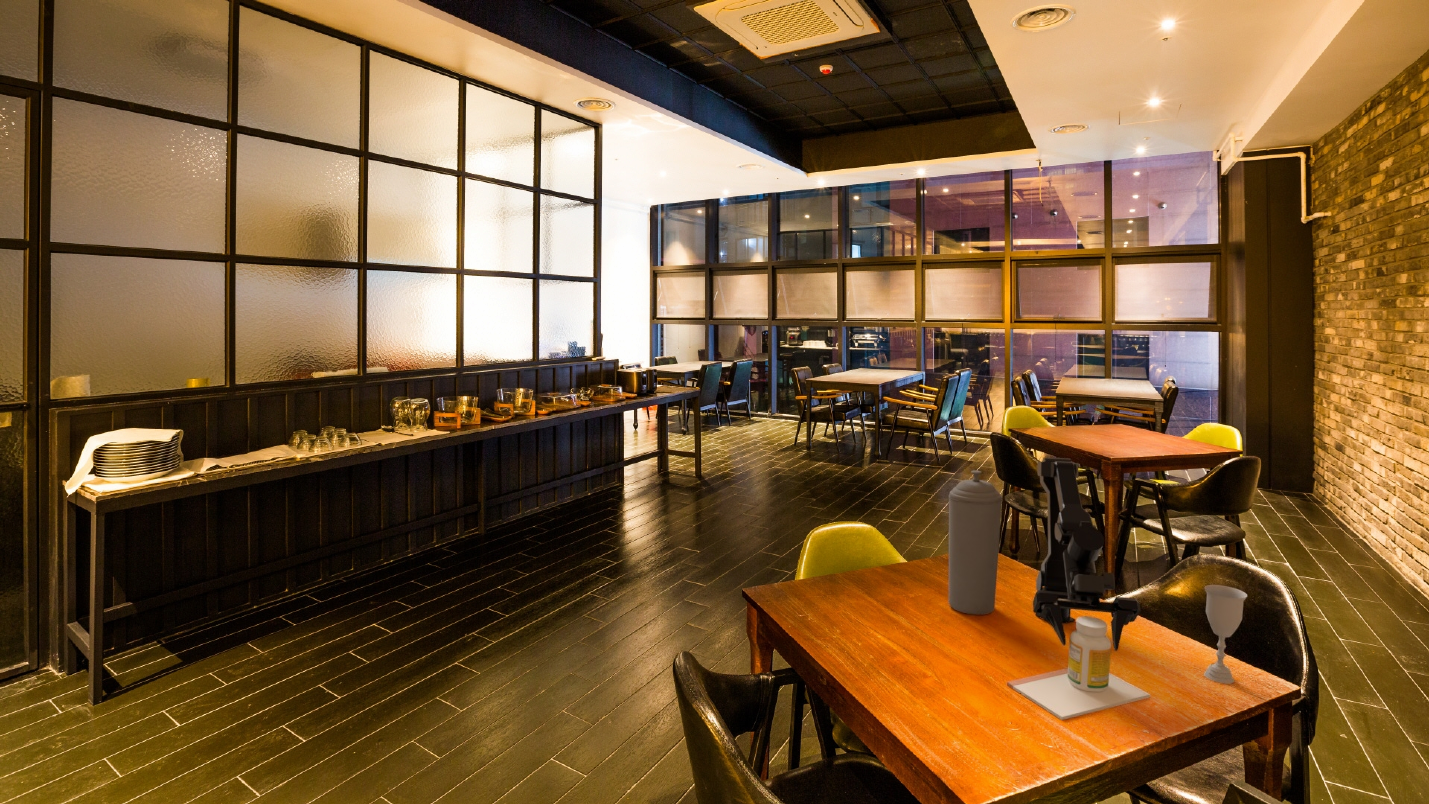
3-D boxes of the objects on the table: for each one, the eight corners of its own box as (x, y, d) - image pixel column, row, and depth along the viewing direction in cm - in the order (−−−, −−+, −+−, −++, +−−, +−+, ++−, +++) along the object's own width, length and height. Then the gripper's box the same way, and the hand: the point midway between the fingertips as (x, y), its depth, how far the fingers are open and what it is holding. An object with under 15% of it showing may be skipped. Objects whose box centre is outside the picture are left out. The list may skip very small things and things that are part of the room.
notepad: (1090, 665, 151) (1090, 662, 150) (1149, 697, 138) (1150, 694, 138) (1006, 684, 143) (1006, 681, 143) (1061, 720, 130) (1061, 716, 130)
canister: (946, 615, 177) (951, 475, 173) (943, 596, 189) (947, 464, 185) (1002, 619, 174) (1007, 477, 170) (994, 600, 186) (1000, 467, 182)
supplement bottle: (1063, 685, 141) (1066, 622, 140) (1072, 671, 147) (1075, 611, 145) (1104, 697, 137) (1107, 632, 135) (1112, 682, 142) (1115, 620, 141)
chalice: (1189, 669, 149) (1195, 585, 147) (1220, 667, 149) (1227, 584, 147) (1217, 687, 142) (1223, 599, 140) (1249, 685, 142) (1256, 597, 140)
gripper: (1037, 552, 146) (1044, 626, 137) (1140, 559, 141) (1155, 637, 132) (1030, 576, 155) (1036, 647, 145) (1127, 584, 150) (1139, 658, 140)
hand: (1090, 647), depth 140 cm, fingers open, 9 cm apart
